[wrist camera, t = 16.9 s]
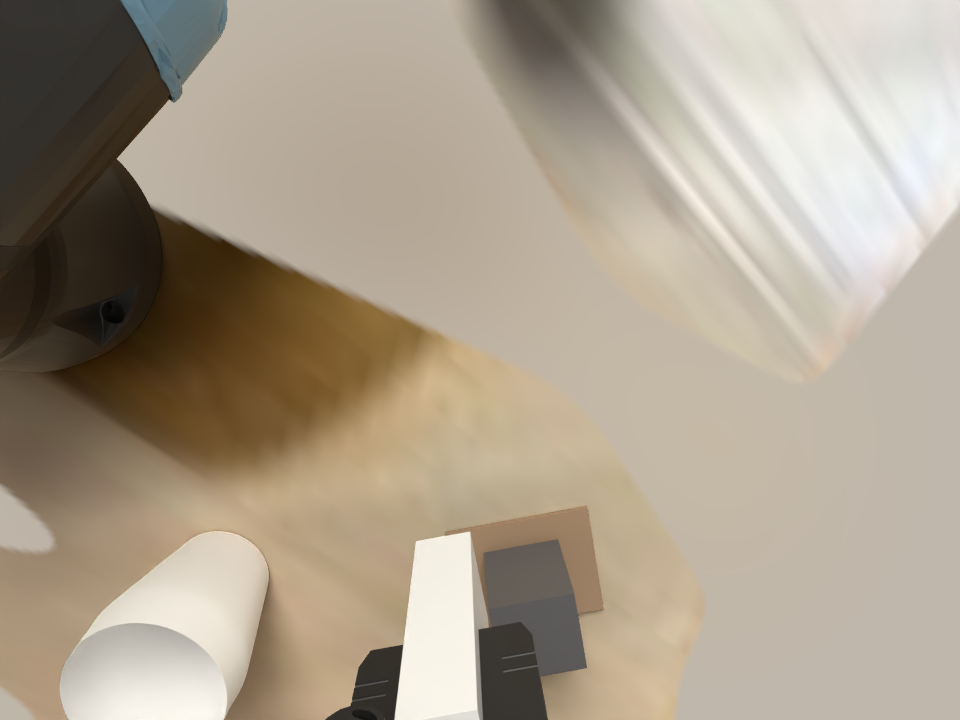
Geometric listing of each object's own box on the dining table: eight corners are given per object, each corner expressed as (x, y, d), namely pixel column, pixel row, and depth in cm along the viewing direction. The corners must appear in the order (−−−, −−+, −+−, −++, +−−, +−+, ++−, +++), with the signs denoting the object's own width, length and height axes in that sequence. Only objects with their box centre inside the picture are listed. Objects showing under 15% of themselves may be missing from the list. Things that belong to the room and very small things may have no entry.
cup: (310, 554, 47) (261, 670, 35) (248, 650, 48) (181, 792, 37) (193, 490, 45) (102, 590, 34) (133, 592, 47) (27, 720, 35)
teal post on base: (466, 630, 49) (468, 700, 42) (445, 532, 47) (443, 587, 40) (602, 605, 48) (626, 671, 42) (586, 506, 47) (608, 557, 40)
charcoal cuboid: (496, 618, 47) (503, 683, 41) (483, 552, 46) (488, 609, 40) (569, 604, 47) (587, 667, 41) (558, 539, 46) (574, 593, 40)
